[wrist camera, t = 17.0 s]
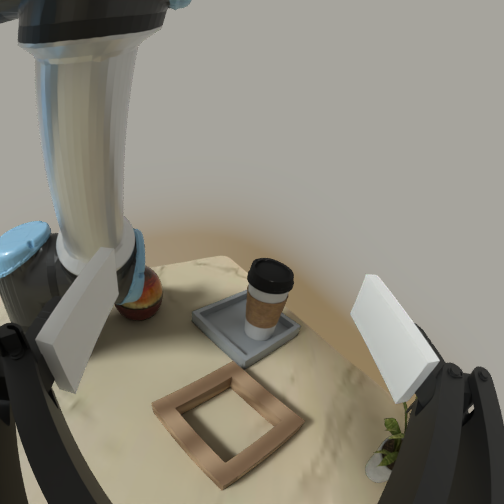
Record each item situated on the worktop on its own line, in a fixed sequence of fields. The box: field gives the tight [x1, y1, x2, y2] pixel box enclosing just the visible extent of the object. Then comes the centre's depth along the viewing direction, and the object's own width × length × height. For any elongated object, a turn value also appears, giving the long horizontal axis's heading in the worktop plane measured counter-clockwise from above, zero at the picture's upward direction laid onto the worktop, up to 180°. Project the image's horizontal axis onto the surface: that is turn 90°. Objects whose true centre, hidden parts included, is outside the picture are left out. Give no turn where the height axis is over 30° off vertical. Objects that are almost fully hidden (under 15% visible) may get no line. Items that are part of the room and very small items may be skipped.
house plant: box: [365, 396, 417, 483], centre depth 26 cm, size 14×14×16 cm
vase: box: [115, 244, 163, 320], centre depth 53 cm, size 11×11×15 cm
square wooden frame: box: [152, 361, 305, 490], centre depth 35 cm, size 16×16×3 cm
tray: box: [192, 290, 301, 370], centre depth 57 cm, size 16×16×2 cm
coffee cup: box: [244, 258, 294, 341], centre depth 53 cm, size 8×8×15 cm
